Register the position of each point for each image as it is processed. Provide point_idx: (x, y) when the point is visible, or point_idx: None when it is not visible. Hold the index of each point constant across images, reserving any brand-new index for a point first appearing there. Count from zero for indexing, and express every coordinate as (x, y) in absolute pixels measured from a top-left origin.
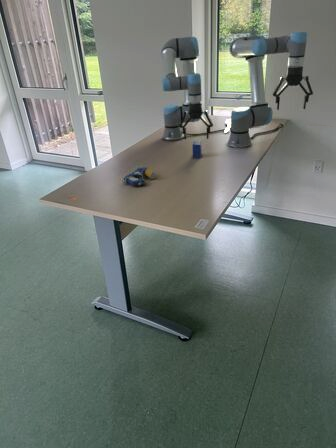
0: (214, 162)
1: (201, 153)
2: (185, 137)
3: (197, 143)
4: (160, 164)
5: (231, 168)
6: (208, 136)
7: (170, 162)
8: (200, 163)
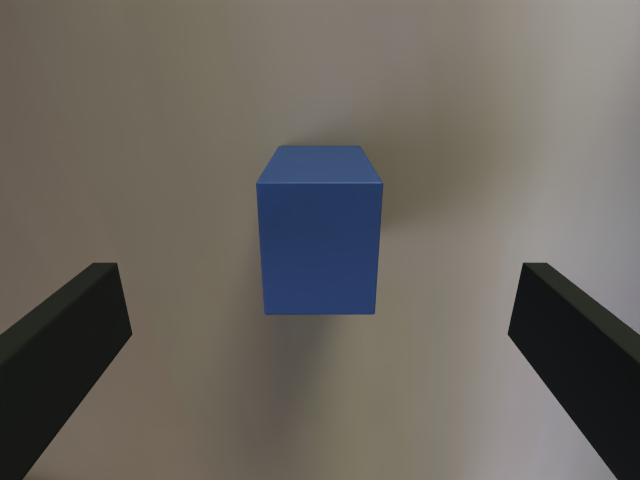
0: (483, 331)
1: (361, 150)
2: (108, 356)
3: (331, 267)
4: None
5: None
6: (559, 277)
7: None
8: (366, 350)
